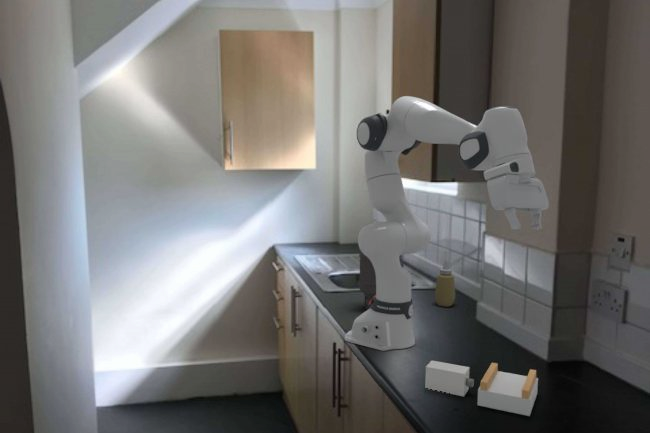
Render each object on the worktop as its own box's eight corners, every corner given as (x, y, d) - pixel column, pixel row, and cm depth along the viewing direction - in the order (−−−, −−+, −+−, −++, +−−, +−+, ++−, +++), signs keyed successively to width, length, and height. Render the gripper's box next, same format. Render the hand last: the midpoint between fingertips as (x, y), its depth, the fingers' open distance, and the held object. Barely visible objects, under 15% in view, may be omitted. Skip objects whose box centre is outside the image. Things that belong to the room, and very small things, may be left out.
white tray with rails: (477, 405, 137) (478, 381, 137) (489, 384, 150) (490, 362, 149) (529, 416, 132) (531, 391, 131) (537, 393, 144) (538, 370, 144)
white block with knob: (425, 388, 147) (425, 366, 146) (430, 382, 151) (431, 360, 150) (470, 398, 141) (471, 375, 141) (474, 390, 146) (475, 368, 145)
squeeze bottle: (455, 308, 221) (457, 262, 219) (434, 307, 222) (435, 261, 220) (454, 302, 229) (456, 258, 227) (434, 301, 230) (435, 258, 228)
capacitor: (381, 315, 210) (383, 235, 207) (351, 309, 218) (352, 232, 215) (400, 307, 221) (402, 231, 217) (370, 302, 229) (372, 228, 225)
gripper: (524, 178, 142) (536, 232, 140) (478, 172, 129) (491, 232, 126) (548, 170, 138) (561, 226, 135) (503, 164, 124) (516, 225, 122)
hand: (527, 229), depth 131 cm, fingers open, 8 cm apart
